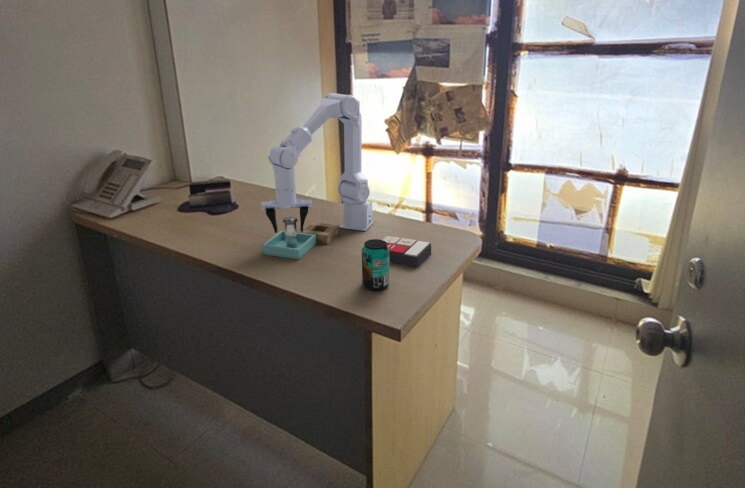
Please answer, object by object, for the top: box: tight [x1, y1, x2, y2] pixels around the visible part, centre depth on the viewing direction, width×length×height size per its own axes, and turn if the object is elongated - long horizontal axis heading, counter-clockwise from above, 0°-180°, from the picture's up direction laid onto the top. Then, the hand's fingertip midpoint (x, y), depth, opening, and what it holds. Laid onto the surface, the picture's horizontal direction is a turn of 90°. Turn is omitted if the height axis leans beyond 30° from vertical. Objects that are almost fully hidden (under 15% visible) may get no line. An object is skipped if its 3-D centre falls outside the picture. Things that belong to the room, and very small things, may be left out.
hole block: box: [300, 222, 339, 245], centre depth 156 cm, size 9×9×3 cm
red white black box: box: [382, 235, 432, 269], centre depth 143 cm, size 11×4×15 cm
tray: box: [261, 229, 318, 260], centre depth 148 cm, size 12×12×3 cm
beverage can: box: [361, 238, 390, 292], centre depth 124 cm, size 7×7×12 cm
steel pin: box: [282, 215, 299, 248], centre depth 147 cm, size 4×4×9 cm
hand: (289, 230), depth 146 cm, fingers open, 7 cm apart
